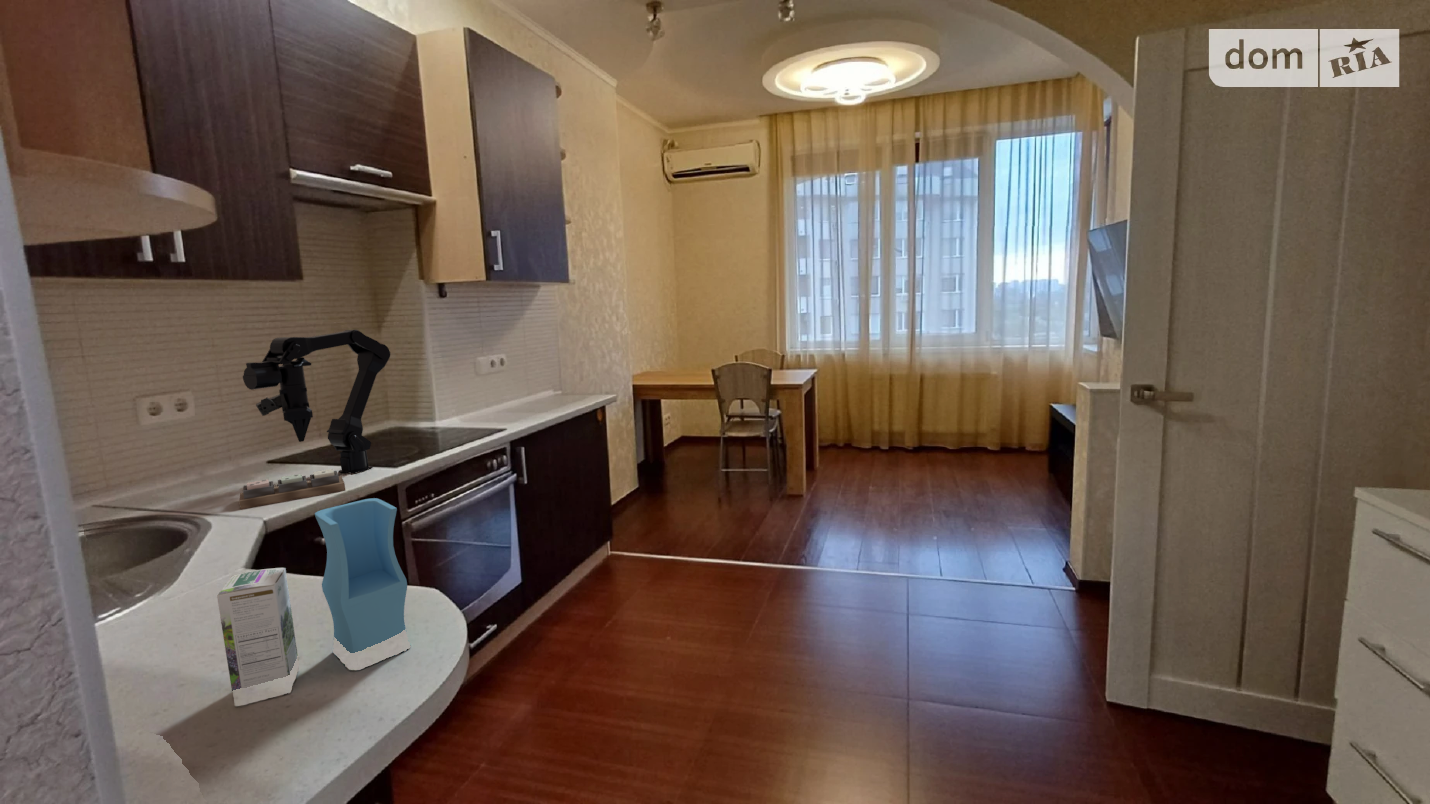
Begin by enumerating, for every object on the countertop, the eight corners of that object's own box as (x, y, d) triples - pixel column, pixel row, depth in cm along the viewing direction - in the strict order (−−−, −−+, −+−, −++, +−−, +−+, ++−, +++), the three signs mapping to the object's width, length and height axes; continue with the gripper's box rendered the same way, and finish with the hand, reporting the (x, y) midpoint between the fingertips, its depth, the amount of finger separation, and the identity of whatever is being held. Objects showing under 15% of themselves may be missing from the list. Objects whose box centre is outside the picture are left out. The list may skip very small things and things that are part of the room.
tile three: (269, 486, 157) (268, 479, 156) (269, 490, 153) (268, 482, 153) (248, 490, 154) (247, 482, 154) (247, 494, 151) (246, 486, 150)
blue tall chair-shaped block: (351, 674, 78) (329, 525, 75) (331, 652, 84) (310, 512, 80) (415, 647, 84) (397, 507, 81) (392, 628, 89) (375, 496, 86)
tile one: (333, 476, 165) (332, 468, 164) (335, 479, 161) (334, 472, 161) (314, 479, 162) (313, 471, 162) (315, 482, 159) (314, 475, 158)
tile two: (302, 481, 161) (301, 473, 160) (303, 484, 157) (302, 477, 157) (282, 484, 158) (280, 476, 158) (282, 488, 155) (281, 480, 154)
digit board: (342, 482, 168) (340, 468, 167) (345, 490, 161) (343, 475, 160) (241, 500, 155) (238, 485, 155) (240, 509, 148) (237, 493, 147)
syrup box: (246, 682, 77) (227, 574, 75) (302, 669, 80) (285, 564, 77) (234, 709, 72) (213, 594, 70) (293, 694, 75) (275, 582, 72)
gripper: (255, 384, 167) (264, 440, 169) (254, 391, 152) (264, 452, 154) (304, 380, 173) (312, 434, 176) (308, 386, 158) (317, 445, 161)
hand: (301, 441), depth 166 cm, fingers closed
